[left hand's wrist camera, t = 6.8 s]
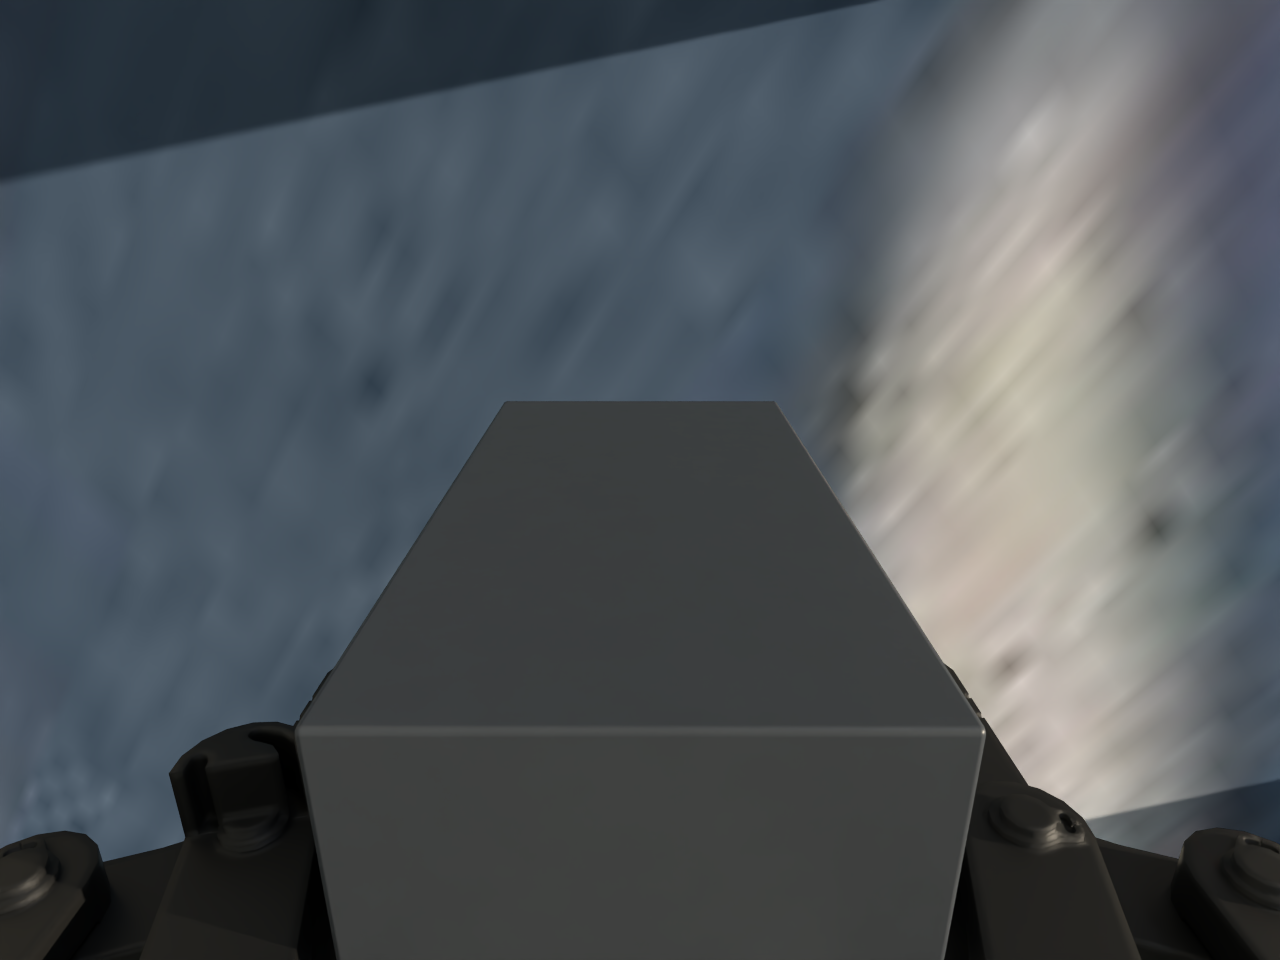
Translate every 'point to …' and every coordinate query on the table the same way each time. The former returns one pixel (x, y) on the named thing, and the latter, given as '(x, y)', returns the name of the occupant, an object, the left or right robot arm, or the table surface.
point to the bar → (640, 712)
